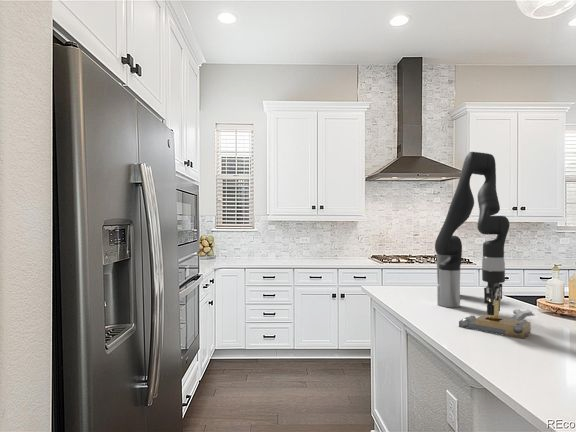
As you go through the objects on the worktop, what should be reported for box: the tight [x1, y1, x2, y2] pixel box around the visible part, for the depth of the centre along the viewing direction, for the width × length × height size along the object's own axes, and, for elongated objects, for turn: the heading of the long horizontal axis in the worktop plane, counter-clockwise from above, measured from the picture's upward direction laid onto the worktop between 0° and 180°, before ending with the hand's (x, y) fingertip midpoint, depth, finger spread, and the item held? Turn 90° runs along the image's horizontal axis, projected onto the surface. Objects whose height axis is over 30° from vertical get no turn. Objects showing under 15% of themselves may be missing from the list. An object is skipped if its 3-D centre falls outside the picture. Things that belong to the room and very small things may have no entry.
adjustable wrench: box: [509, 308, 533, 320], centre depth 160 cm, size 25×6×2 cm, turn 133°
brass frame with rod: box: [458, 314, 532, 340], centre depth 142 cm, size 22×10×4 cm, turn 46°
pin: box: [489, 299, 500, 322], centre depth 142 cm, size 3×3×11 cm
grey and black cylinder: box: [436, 234, 454, 285], centre depth 206 cm, size 13×13×35 cm
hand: (493, 313), depth 142 cm, fingers open, 6 cm apart
